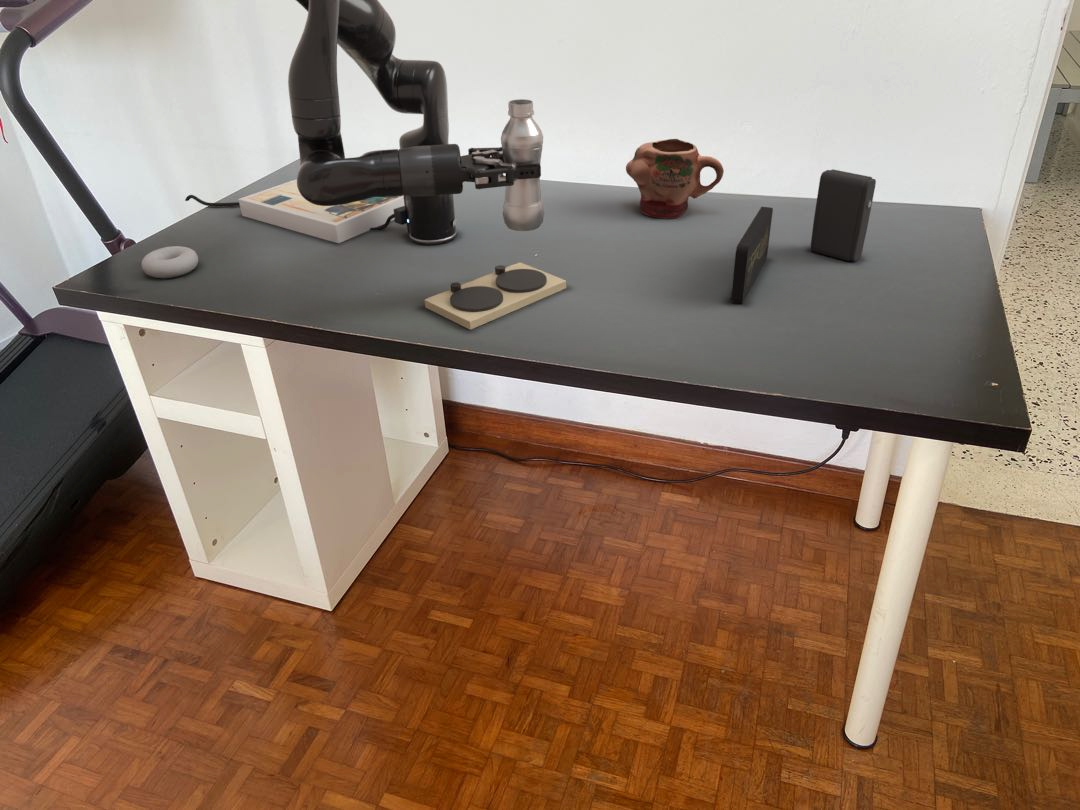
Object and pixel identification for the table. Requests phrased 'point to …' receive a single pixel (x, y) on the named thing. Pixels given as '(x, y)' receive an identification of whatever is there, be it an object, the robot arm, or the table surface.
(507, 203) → the silver bottle
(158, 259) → the donut
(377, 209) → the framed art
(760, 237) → the nameplate
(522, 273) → the hob
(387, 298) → the table surface
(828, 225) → the dark grey upright block
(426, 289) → the table surface
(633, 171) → the animal head mug
